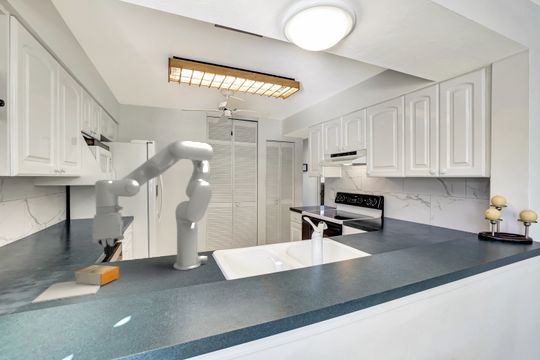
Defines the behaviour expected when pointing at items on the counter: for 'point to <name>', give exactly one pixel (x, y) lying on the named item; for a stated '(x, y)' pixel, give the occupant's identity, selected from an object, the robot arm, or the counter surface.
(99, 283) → the supplement box
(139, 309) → the counter surface
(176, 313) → the counter surface
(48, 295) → the mat
